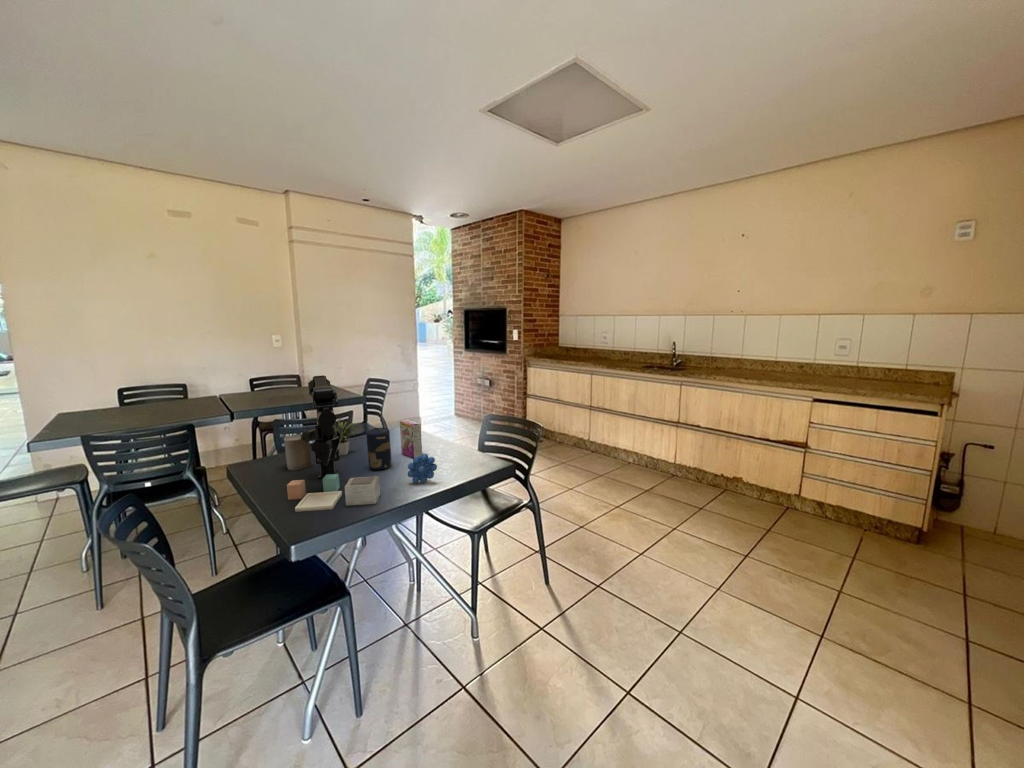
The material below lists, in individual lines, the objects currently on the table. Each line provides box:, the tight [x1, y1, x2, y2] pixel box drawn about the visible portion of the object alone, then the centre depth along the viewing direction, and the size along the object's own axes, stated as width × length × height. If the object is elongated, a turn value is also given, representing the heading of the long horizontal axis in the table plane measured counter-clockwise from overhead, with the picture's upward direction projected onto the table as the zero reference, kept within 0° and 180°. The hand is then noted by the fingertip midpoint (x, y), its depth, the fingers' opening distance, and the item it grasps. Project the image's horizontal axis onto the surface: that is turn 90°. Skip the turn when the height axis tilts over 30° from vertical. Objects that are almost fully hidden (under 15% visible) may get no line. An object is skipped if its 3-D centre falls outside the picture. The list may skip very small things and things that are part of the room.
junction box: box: [344, 475, 381, 507], centre depth 146 cm, size 8×10×7 cm
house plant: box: [335, 421, 356, 457], centre depth 195 cm, size 14×14×16 cm
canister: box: [365, 427, 392, 471], centre depth 177 cm, size 10×10×18 cm
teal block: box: [322, 473, 340, 492], centre depth 155 cm, size 4×4×6 cm
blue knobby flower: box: [407, 453, 438, 484], centre depth 161 cm, size 12×7×12 cm, turn 92°
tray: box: [294, 490, 343, 513], centre depth 144 cm, size 12×12×1 cm
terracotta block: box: [286, 479, 307, 501], centre depth 150 cm, size 4×4×6 cm
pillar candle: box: [283, 433, 313, 471], centre depth 180 cm, size 10×10×15 cm
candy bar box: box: [399, 419, 423, 459], centre depth 193 cm, size 11×5×16 cm, turn 45°
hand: (329, 461), depth 154 cm, fingers open, 9 cm apart
